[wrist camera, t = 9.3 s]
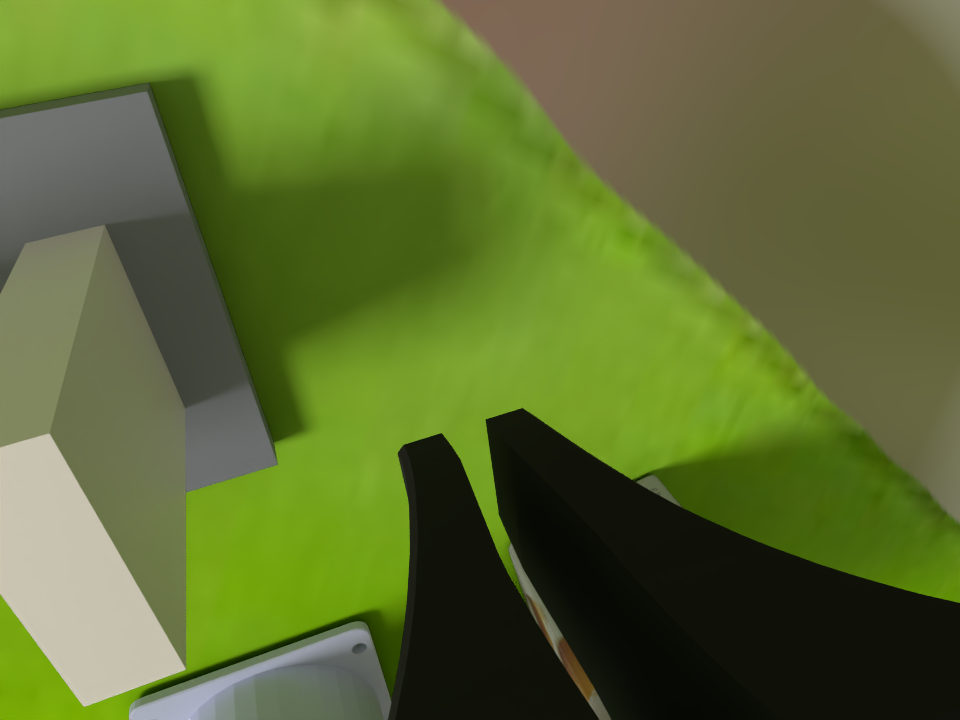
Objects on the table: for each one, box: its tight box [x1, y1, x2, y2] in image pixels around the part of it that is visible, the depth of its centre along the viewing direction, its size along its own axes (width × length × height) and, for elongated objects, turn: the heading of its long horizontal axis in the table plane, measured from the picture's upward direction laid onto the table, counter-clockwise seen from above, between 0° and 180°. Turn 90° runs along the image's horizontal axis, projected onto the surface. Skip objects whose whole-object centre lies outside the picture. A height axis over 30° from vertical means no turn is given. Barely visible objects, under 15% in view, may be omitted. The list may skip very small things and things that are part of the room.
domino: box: [0, 225, 186, 707], centre depth 14 cm, size 5×2×8 cm, turn 7°
